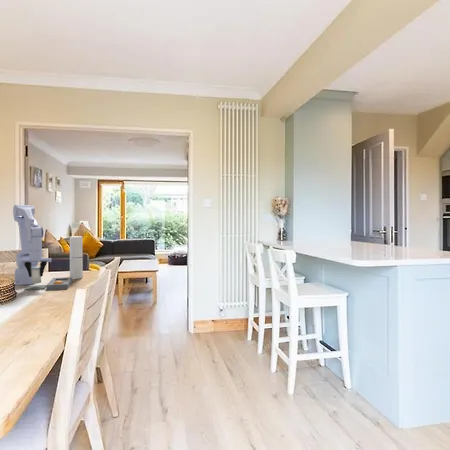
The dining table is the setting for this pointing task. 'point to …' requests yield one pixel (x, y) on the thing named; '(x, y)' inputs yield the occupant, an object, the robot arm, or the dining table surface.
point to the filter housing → (65, 284)
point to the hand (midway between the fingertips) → (35, 276)
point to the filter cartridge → (35, 275)
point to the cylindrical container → (76, 257)
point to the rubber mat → (35, 287)
